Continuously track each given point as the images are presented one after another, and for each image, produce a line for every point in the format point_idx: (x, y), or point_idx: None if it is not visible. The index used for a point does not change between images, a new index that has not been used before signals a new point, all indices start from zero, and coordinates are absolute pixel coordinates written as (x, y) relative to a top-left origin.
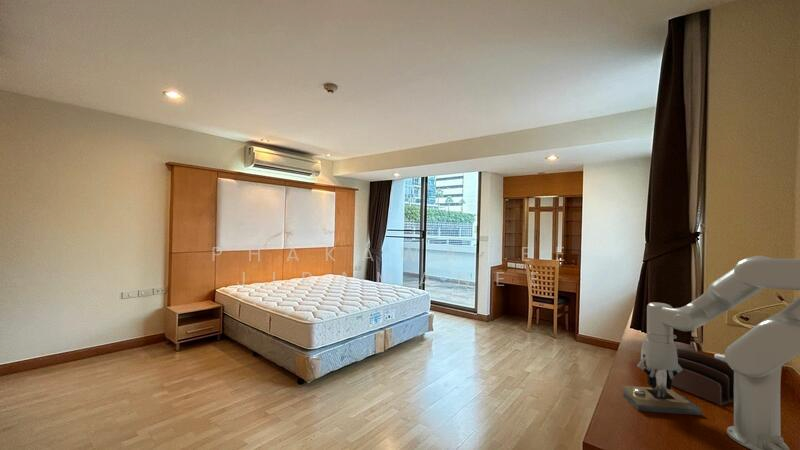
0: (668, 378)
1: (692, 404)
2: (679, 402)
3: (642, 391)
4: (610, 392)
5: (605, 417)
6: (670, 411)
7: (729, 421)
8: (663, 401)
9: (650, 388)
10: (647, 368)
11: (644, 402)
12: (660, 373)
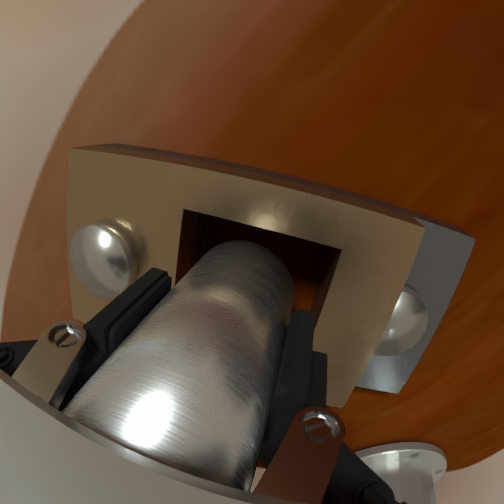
0: (263, 446)
1: (411, 351)
2: None
3: (107, 286)
4: (79, 107)
5: (16, 301)
6: None
7: (450, 405)
8: None
9: (237, 200)
10: (24, 379)
11: None
12: None
